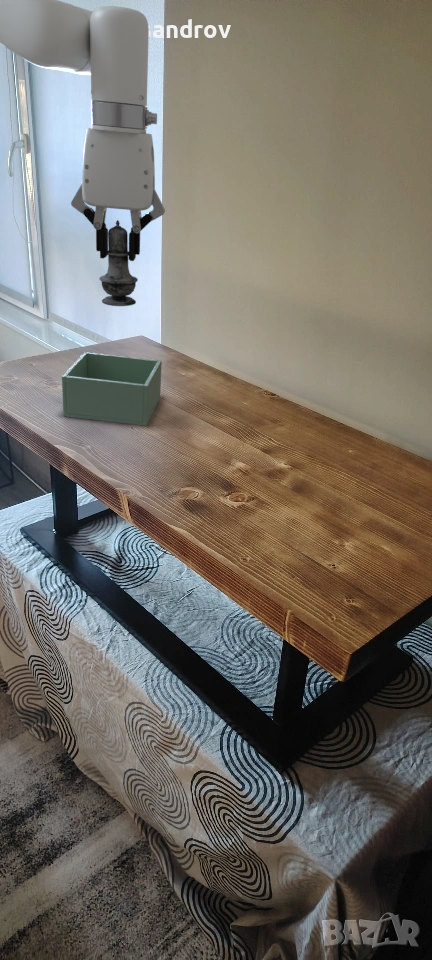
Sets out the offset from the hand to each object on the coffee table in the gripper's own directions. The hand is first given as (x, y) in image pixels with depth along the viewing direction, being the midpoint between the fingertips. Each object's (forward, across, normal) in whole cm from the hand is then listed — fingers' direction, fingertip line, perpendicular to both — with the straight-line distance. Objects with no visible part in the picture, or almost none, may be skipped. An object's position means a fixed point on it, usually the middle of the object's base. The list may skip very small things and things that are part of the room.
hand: (118, 256), depth 95 cm
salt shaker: (+7, 0, 0) cm, 7 cm away
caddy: (+23, 0, +4) cm, 23 cm away
